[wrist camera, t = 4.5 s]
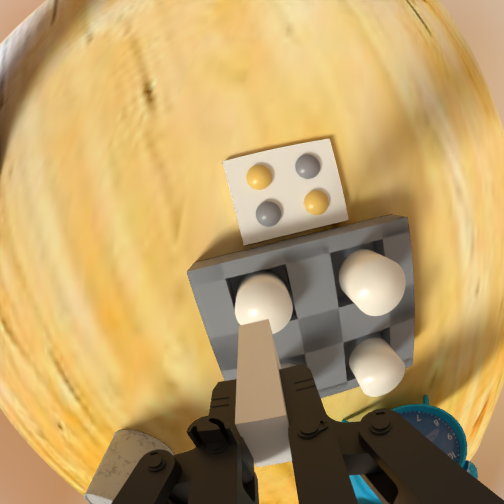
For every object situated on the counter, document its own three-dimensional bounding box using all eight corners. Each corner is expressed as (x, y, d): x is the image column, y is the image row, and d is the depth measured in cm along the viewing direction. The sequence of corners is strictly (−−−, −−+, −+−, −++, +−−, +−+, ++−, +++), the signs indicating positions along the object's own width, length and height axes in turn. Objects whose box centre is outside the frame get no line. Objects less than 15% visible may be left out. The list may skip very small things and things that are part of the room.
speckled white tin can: (116, 454, 29) (91, 509, 17) (110, 420, 27) (76, 484, 15) (173, 473, 29) (159, 533, 17) (177, 443, 28) (158, 516, 16)
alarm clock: (440, 376, 26) (520, 471, 7) (421, 426, 28) (475, 514, 8) (324, 409, 26) (368, 559, 7) (318, 456, 28) (345, 573, 9)
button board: (194, 262, 23) (186, 271, 20) (390, 214, 22) (407, 217, 19) (239, 396, 26) (238, 414, 23) (400, 351, 25) (412, 365, 22)
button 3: (347, 345, 21) (361, 367, 18) (388, 331, 21) (406, 350, 18) (350, 379, 22) (362, 402, 18) (388, 365, 22) (403, 386, 18)
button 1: (231, 275, 22) (227, 290, 18) (280, 264, 21) (286, 276, 18) (244, 320, 22) (243, 340, 19) (290, 309, 22) (297, 328, 19)
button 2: (334, 256, 20) (351, 268, 16) (381, 243, 19) (403, 252, 16) (342, 304, 20) (357, 323, 17) (386, 290, 20) (406, 306, 17)
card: (223, 162, 21) (221, 160, 20) (327, 140, 21) (330, 137, 20) (244, 244, 23) (243, 246, 22) (346, 219, 22) (349, 220, 21)
